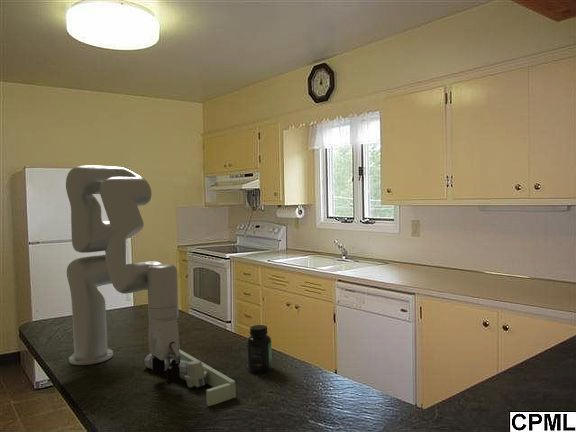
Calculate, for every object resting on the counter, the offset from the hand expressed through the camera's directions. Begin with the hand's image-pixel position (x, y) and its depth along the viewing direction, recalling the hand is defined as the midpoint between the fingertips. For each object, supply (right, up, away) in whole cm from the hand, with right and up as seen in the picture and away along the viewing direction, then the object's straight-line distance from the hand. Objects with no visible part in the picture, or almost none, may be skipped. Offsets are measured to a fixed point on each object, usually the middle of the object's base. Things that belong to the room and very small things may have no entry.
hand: (165, 376), depth 119 cm
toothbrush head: (+1, -2, +6) cm, 6 cm away
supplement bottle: (+24, -1, +10) cm, 26 cm away
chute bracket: (+5, -2, +4) cm, 7 cm away
